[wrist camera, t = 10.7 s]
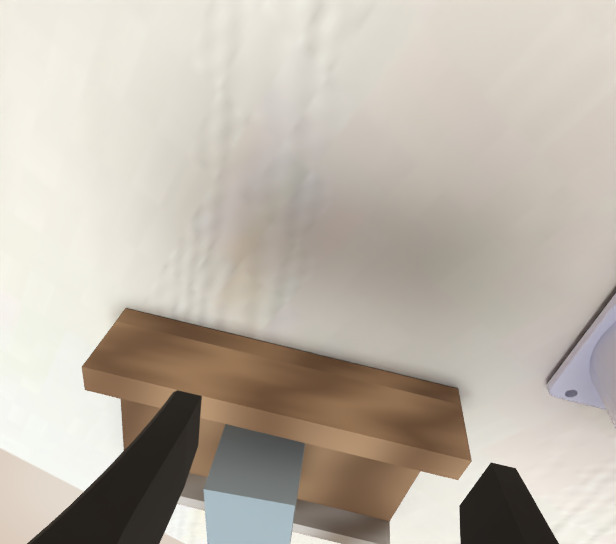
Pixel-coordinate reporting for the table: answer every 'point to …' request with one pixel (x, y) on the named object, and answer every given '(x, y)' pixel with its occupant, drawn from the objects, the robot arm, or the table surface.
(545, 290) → the table surface
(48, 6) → the table surface
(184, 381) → the wooden shelf
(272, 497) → the gray box
